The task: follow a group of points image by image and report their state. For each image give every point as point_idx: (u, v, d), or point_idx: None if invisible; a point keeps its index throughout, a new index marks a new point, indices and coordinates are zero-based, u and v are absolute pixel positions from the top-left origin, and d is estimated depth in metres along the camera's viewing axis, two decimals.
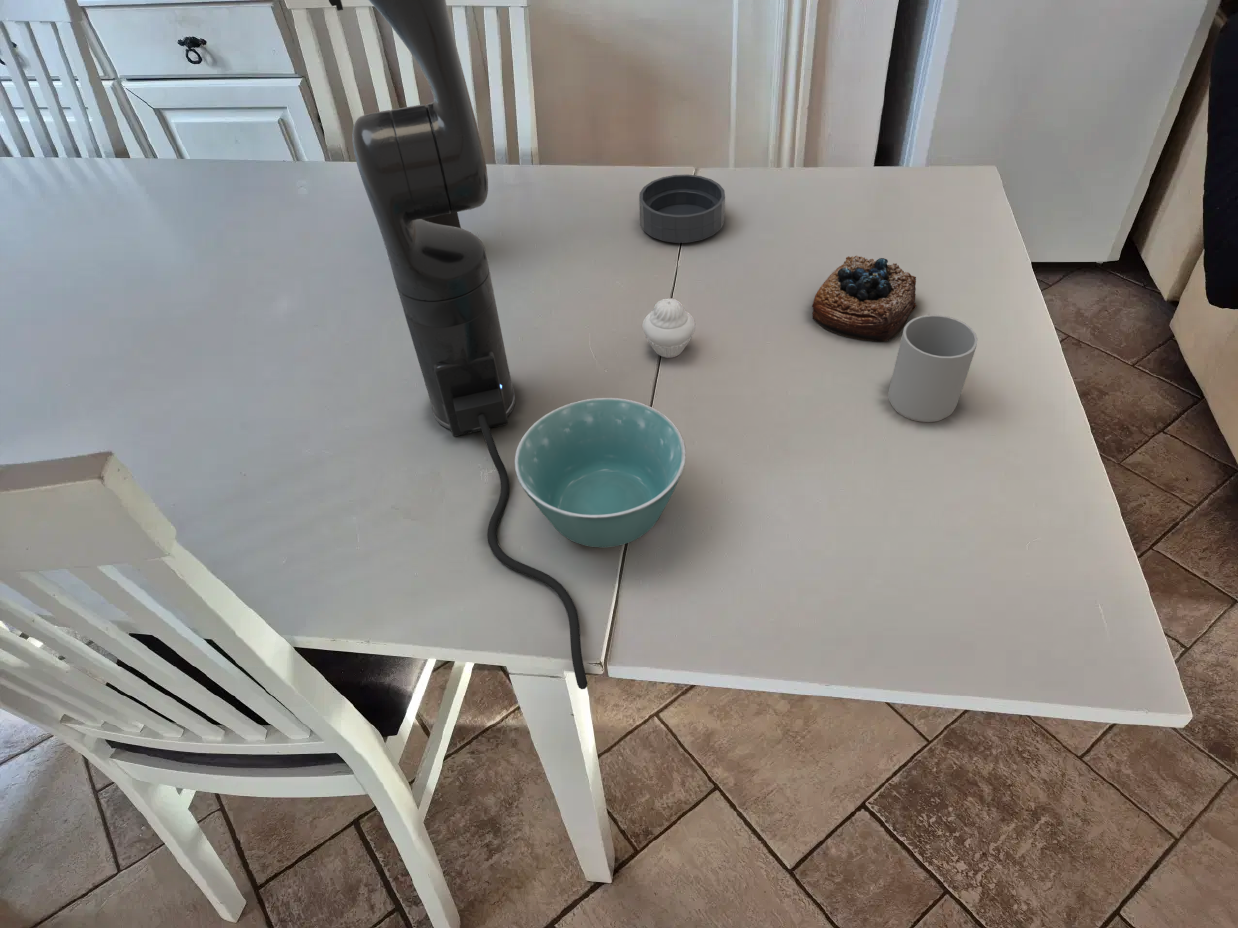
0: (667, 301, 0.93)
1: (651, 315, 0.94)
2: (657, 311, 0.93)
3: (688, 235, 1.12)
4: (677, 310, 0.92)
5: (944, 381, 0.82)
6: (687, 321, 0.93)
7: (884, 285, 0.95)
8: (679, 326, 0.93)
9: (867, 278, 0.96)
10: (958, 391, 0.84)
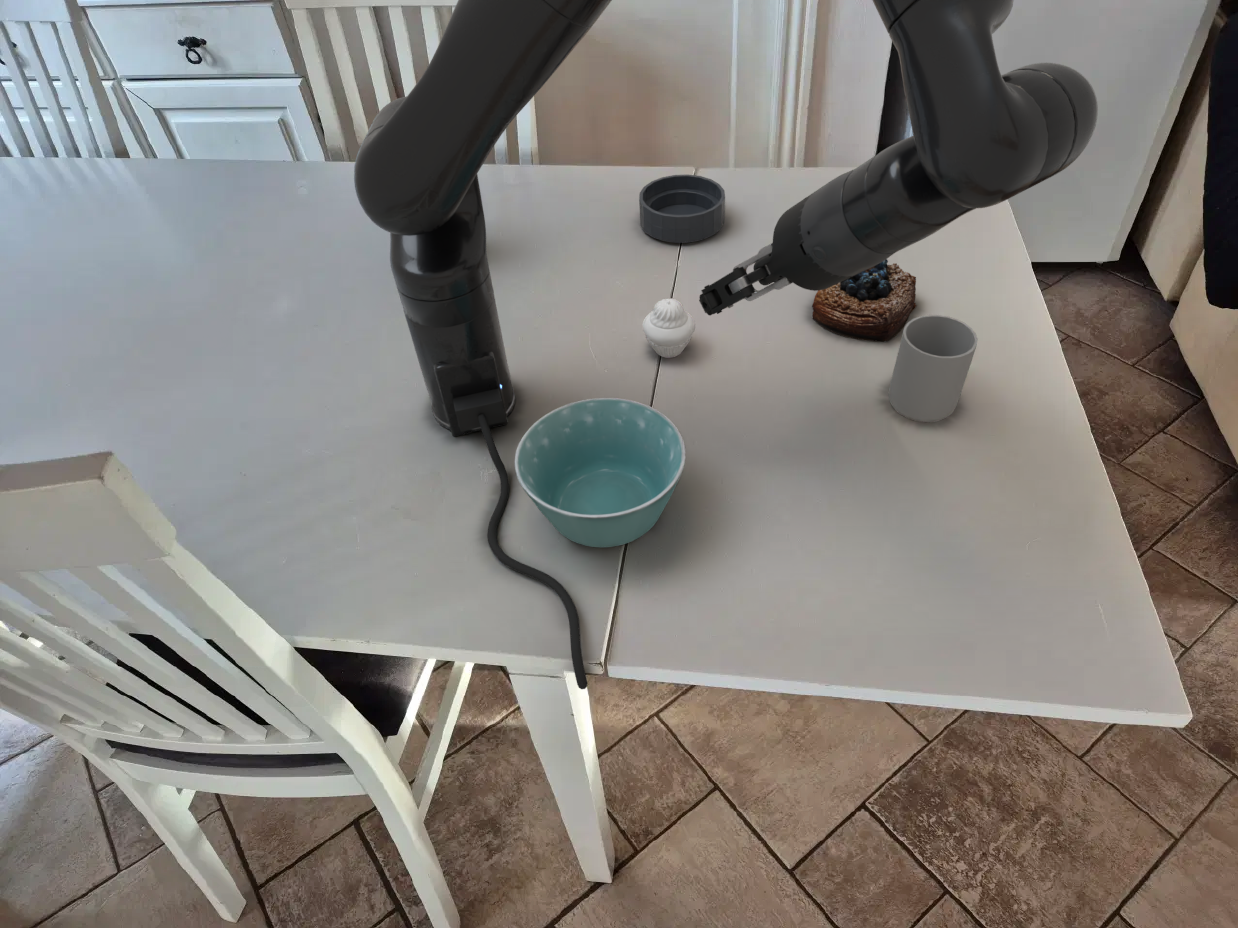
0: (667, 301, 0.93)
1: (651, 315, 0.94)
2: (657, 311, 0.93)
3: (688, 235, 1.12)
4: (677, 310, 0.92)
5: (944, 381, 0.82)
6: (687, 321, 0.93)
7: (884, 285, 0.95)
8: (679, 326, 0.93)
9: (867, 278, 0.96)
10: (958, 391, 0.84)
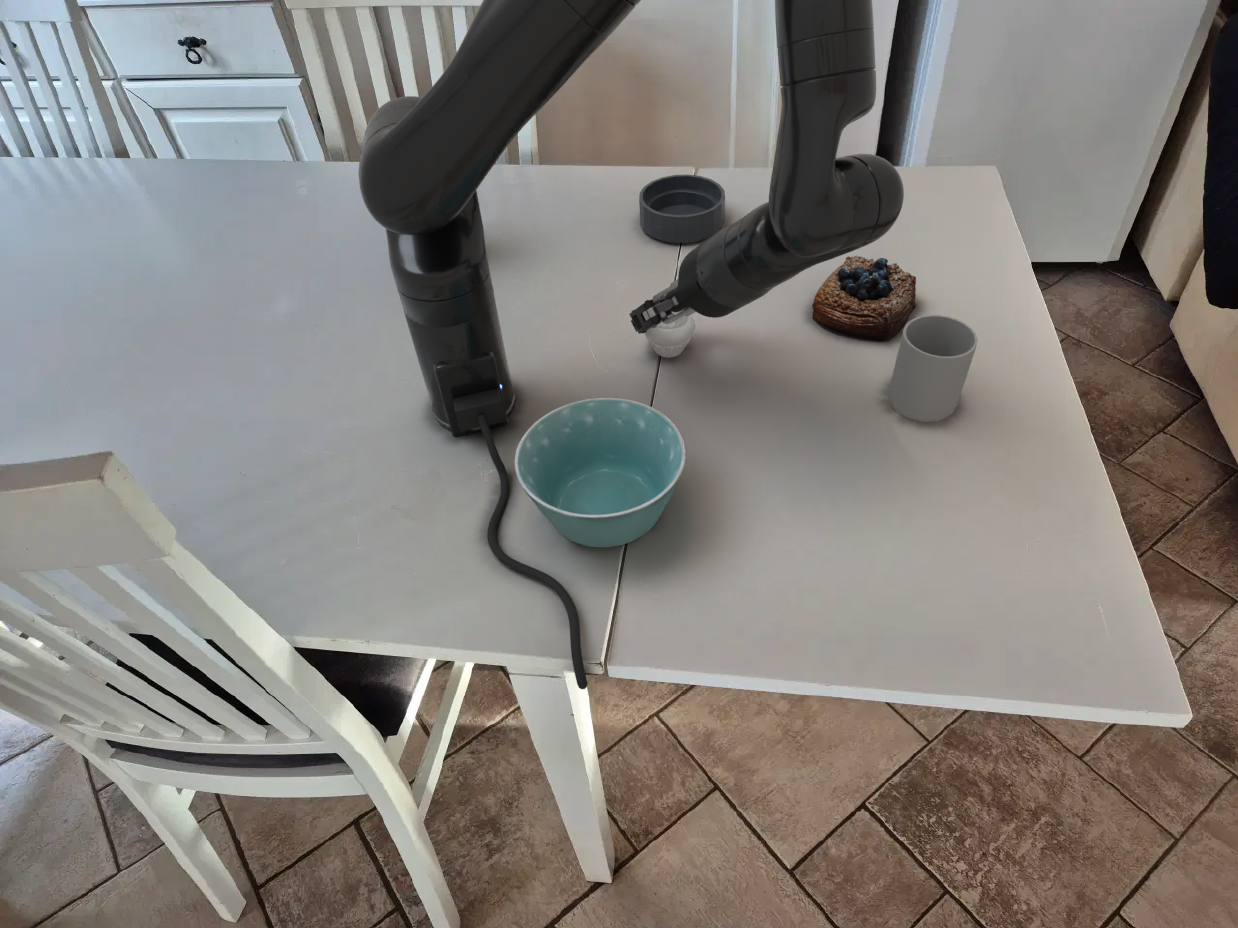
0: None
1: None
2: None
3: (688, 235, 1.12)
4: None
5: (944, 381, 0.82)
6: (687, 321, 0.93)
7: (884, 285, 0.95)
8: (679, 326, 0.93)
9: (867, 278, 0.96)
10: (958, 391, 0.84)
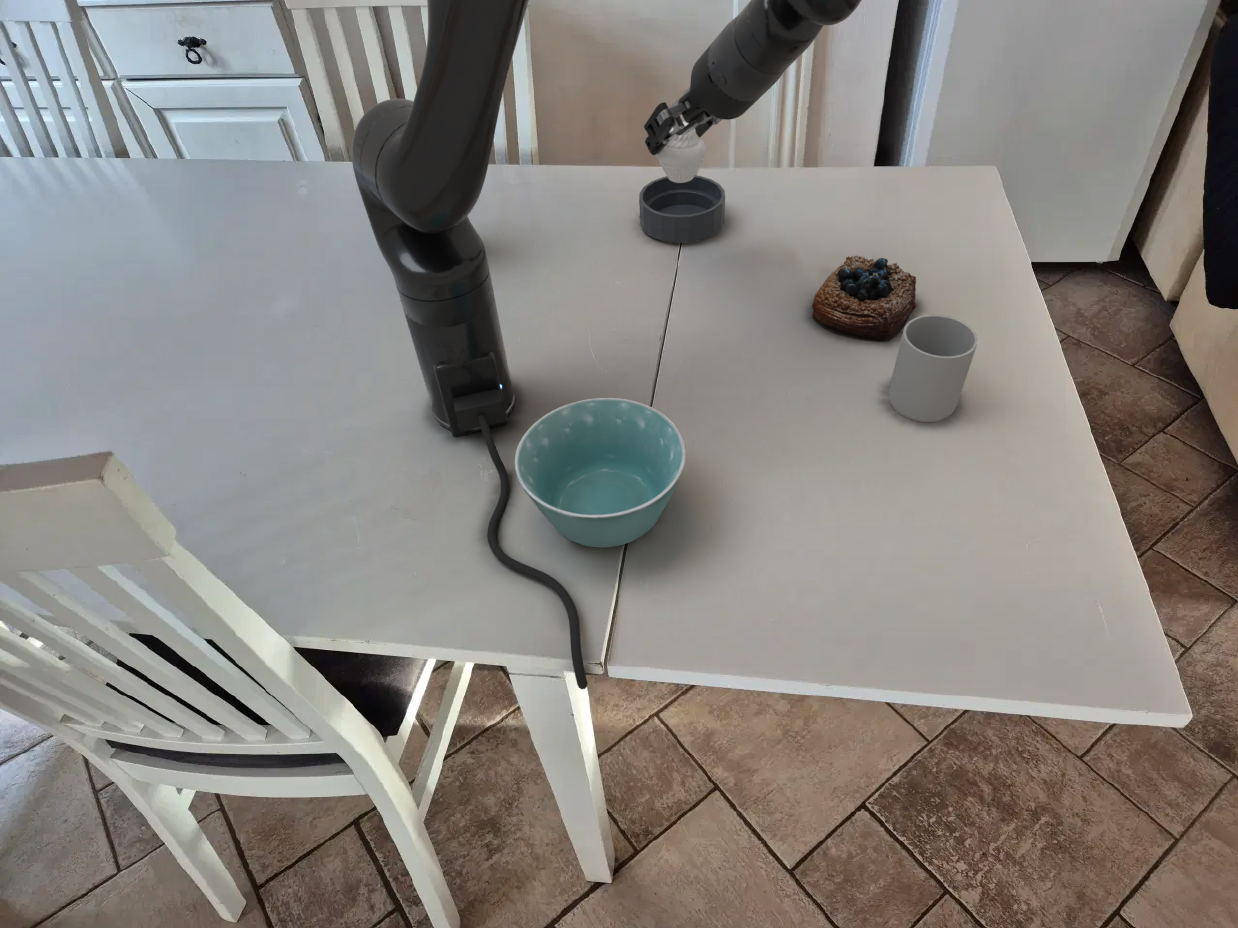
0: None
1: None
2: None
3: (688, 235, 1.12)
4: None
5: (944, 381, 0.82)
6: (698, 143, 0.98)
7: (884, 285, 0.95)
8: (691, 147, 0.98)
9: (867, 278, 0.96)
10: (958, 391, 0.84)
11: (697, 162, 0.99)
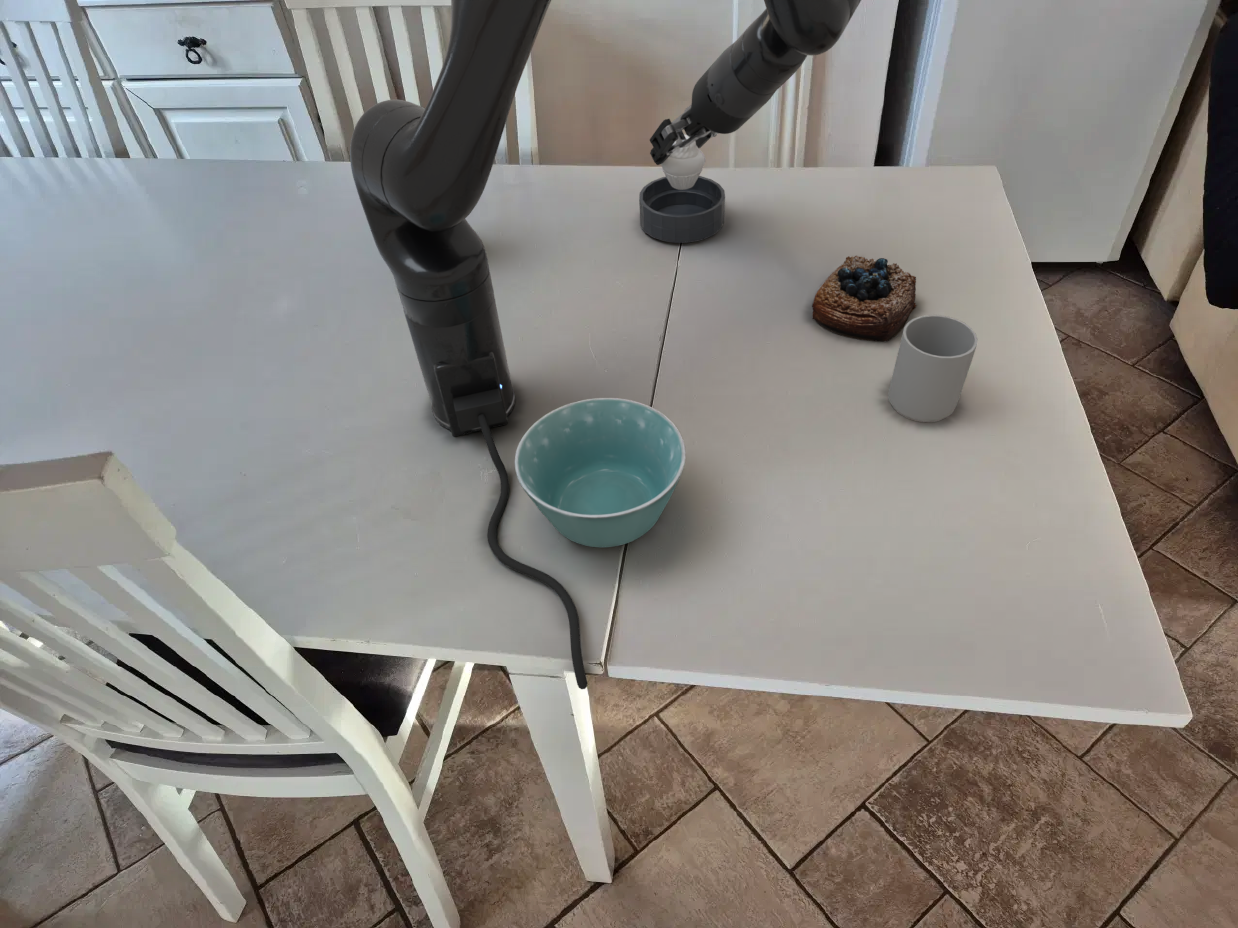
0: None
1: None
2: (673, 144, 1.08)
3: (688, 235, 1.12)
4: None
5: (944, 381, 0.82)
6: (698, 154, 1.09)
7: (884, 285, 0.95)
8: (691, 157, 1.08)
9: (867, 278, 0.96)
10: (958, 391, 0.84)
11: (697, 171, 1.09)
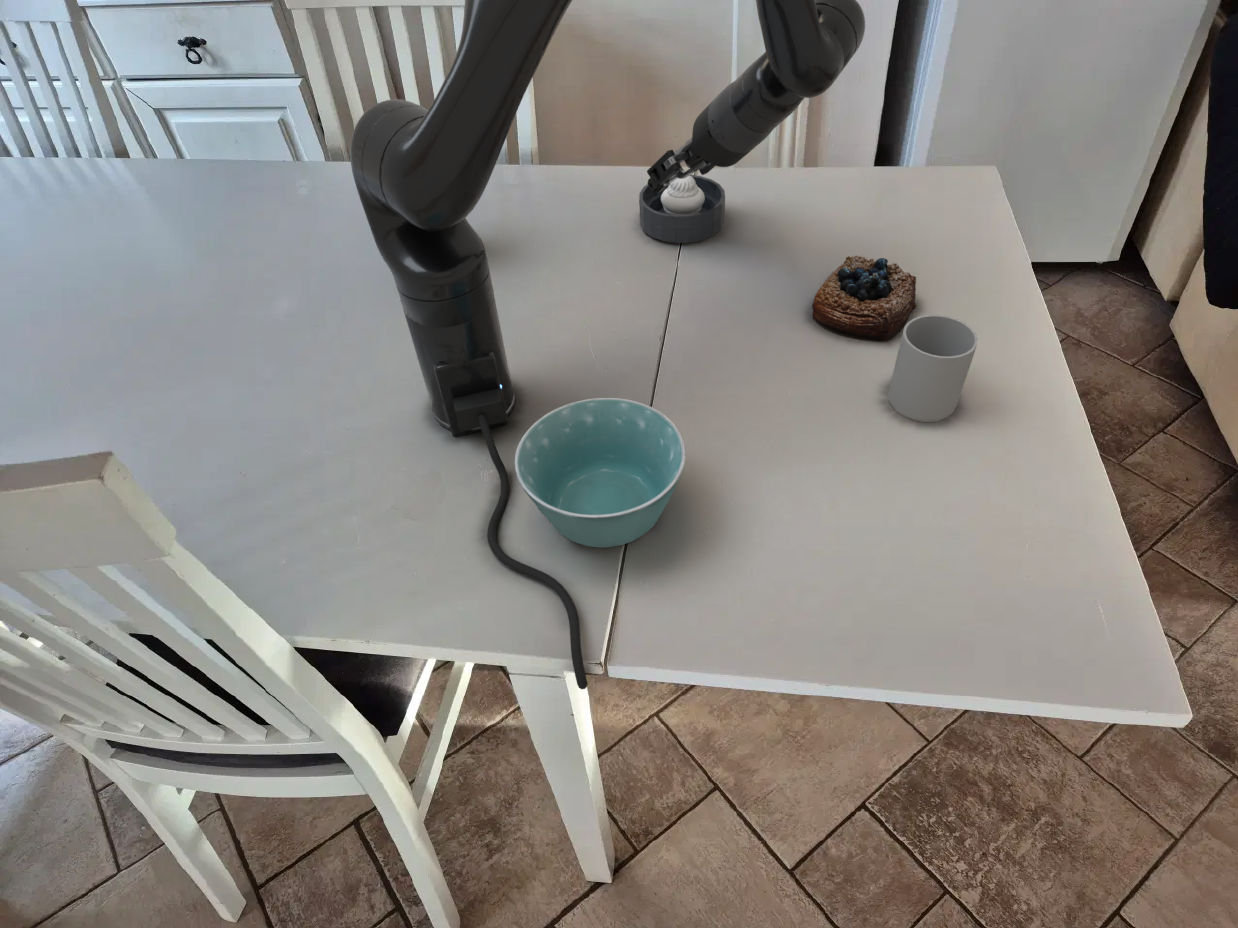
0: None
1: (668, 188, 1.13)
2: (673, 183, 1.12)
3: (688, 235, 1.12)
4: (689, 182, 1.12)
5: (944, 381, 0.82)
6: (698, 193, 1.13)
7: (884, 285, 0.95)
8: (691, 196, 1.12)
9: (867, 278, 0.96)
10: (958, 391, 0.84)
11: (697, 209, 1.13)
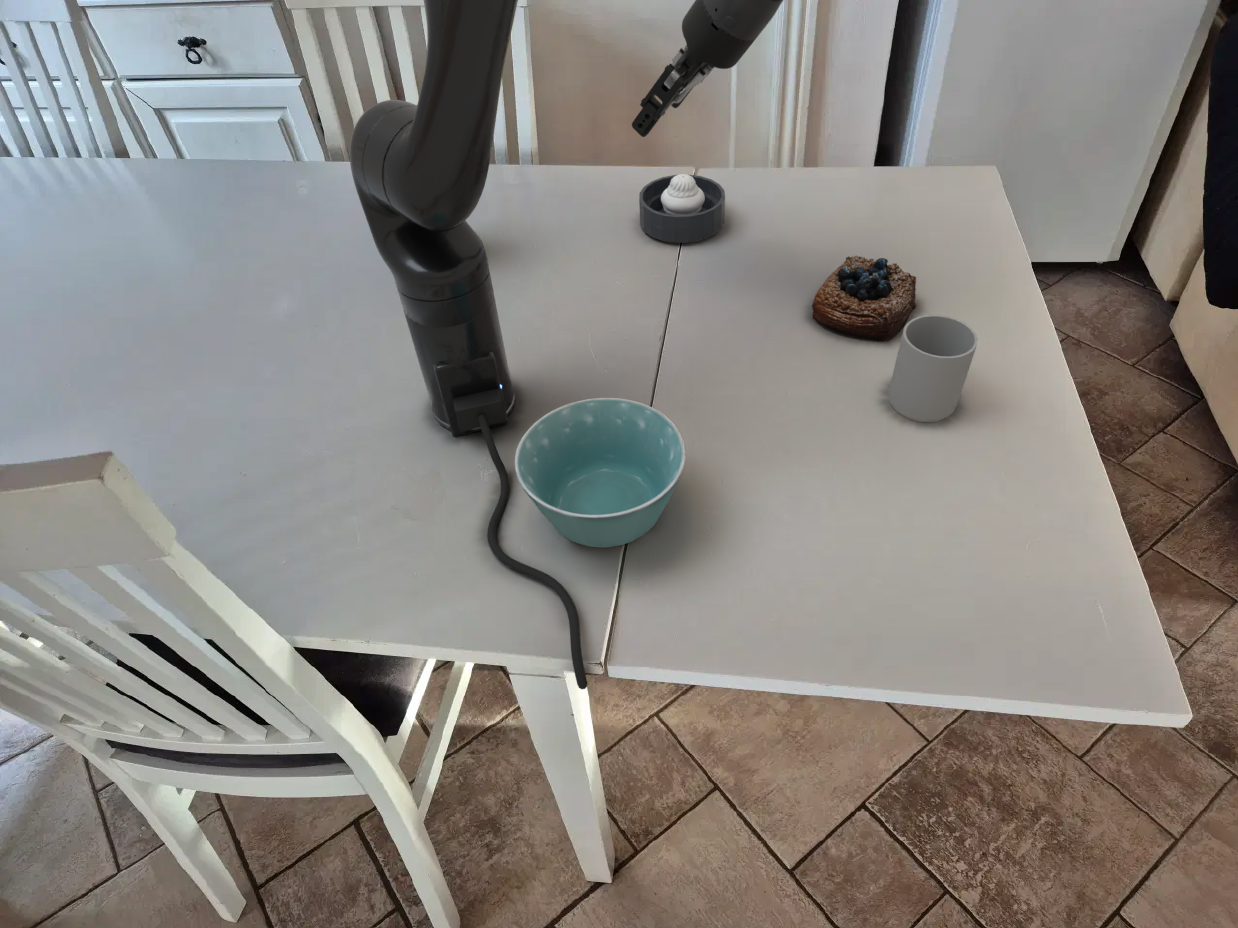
0: (681, 175, 1.12)
1: (668, 188, 1.13)
2: (673, 183, 1.12)
3: (688, 235, 1.12)
4: (689, 182, 1.12)
5: (944, 381, 0.82)
6: (698, 193, 1.13)
7: (884, 285, 0.95)
8: (691, 196, 1.12)
9: (867, 278, 0.96)
10: (958, 391, 0.84)
11: (697, 209, 1.13)
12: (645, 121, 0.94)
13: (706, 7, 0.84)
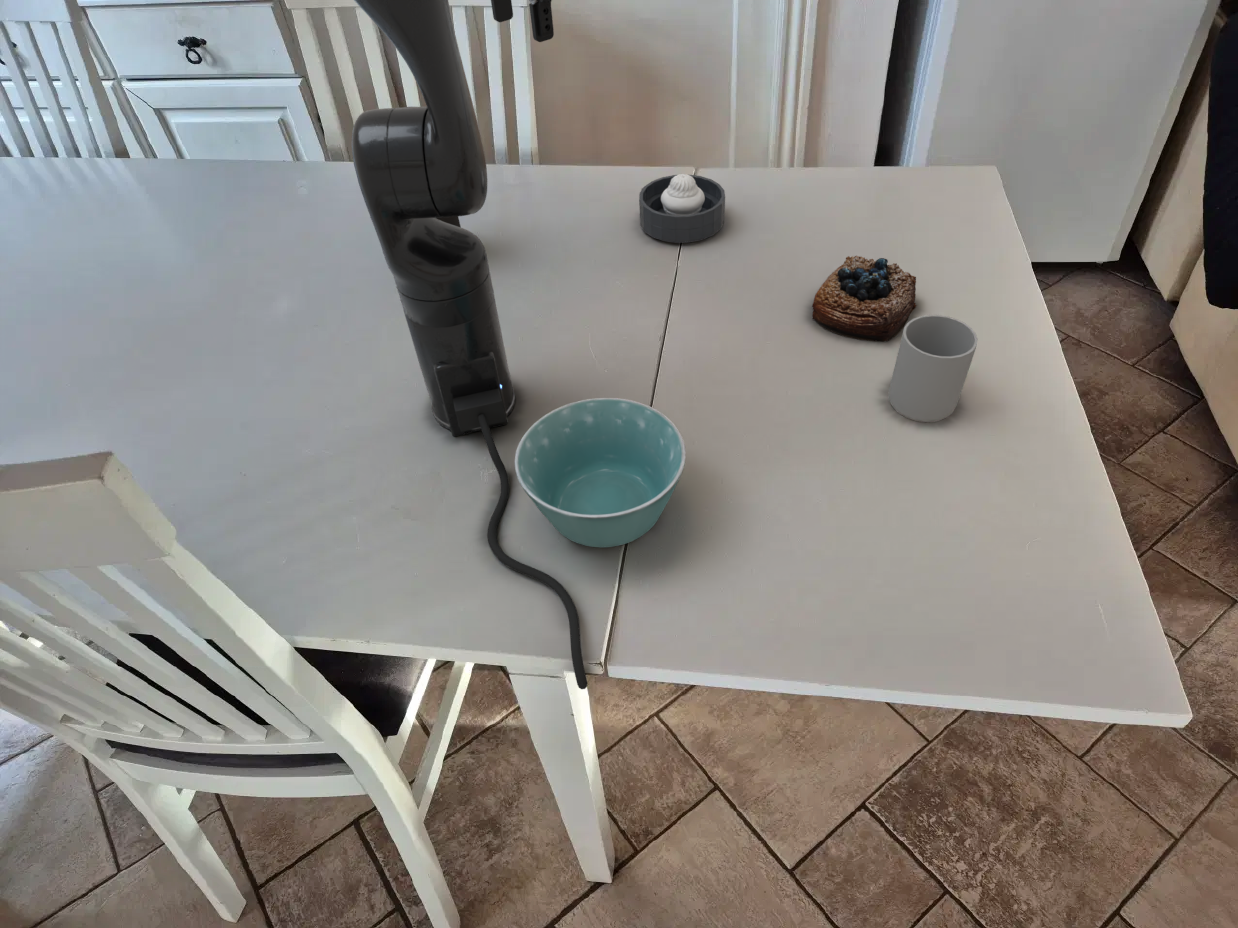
0: (681, 175, 1.12)
1: (668, 188, 1.13)
2: (673, 183, 1.12)
3: (688, 235, 1.12)
4: (689, 182, 1.12)
5: (944, 381, 0.82)
6: (698, 193, 1.13)
7: (884, 285, 0.95)
8: (691, 196, 1.12)
9: (867, 278, 0.96)
10: (958, 391, 0.84)
11: (697, 209, 1.13)
12: (547, 17, 0.85)
13: None
